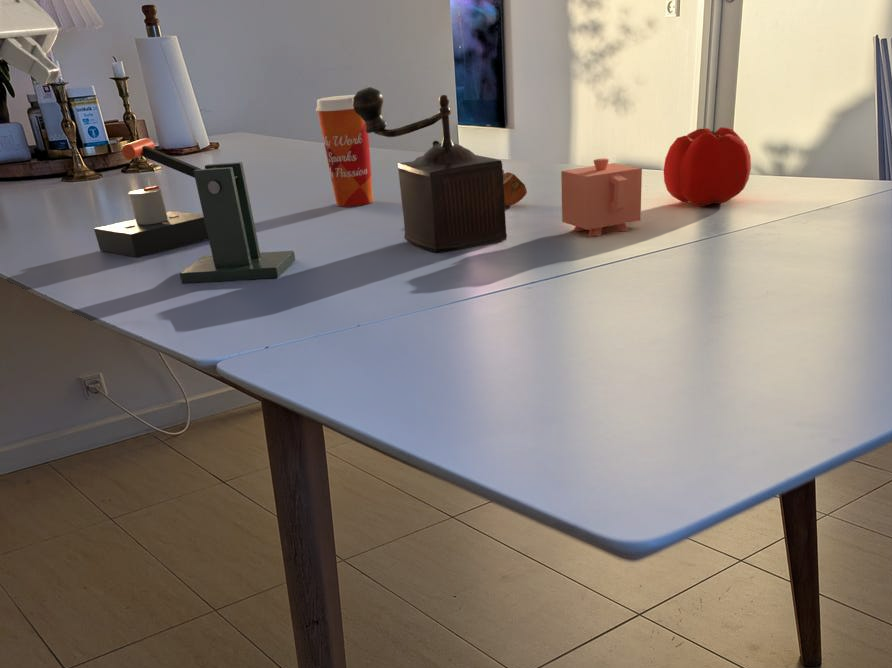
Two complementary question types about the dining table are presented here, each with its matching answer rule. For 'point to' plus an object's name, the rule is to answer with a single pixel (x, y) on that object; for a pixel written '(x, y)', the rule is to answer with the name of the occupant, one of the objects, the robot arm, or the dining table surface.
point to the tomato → (707, 166)
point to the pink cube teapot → (601, 196)
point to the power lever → (157, 156)
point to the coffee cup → (346, 150)
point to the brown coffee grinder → (443, 185)
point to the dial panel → (152, 235)
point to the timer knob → (148, 206)
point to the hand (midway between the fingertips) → (52, 78)
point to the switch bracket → (231, 231)
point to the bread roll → (512, 189)
